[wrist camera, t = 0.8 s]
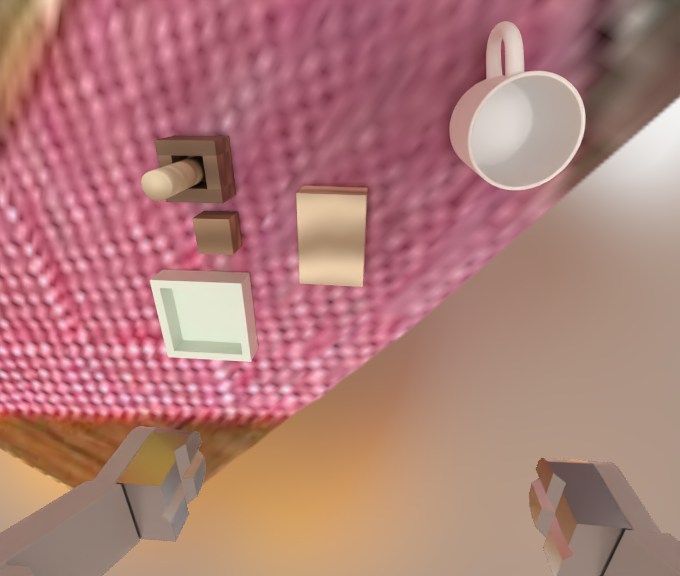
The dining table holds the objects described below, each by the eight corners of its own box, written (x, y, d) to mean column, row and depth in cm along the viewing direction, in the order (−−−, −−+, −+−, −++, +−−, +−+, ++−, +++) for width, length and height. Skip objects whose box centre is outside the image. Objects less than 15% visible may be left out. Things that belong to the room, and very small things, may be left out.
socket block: (173, 136, 42) (154, 140, 38) (228, 136, 41) (214, 140, 38) (183, 193, 44) (166, 201, 41) (235, 194, 44) (222, 203, 40)
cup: (452, 176, 41) (473, 200, 32) (437, 44, 36) (456, 28, 27) (537, 158, 39) (584, 177, 30) (534, 17, 34) (588, -10, 25)
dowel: (190, 154, 42) (138, 170, 33) (213, 154, 42) (167, 171, 33) (194, 178, 43) (145, 200, 34) (216, 178, 43) (172, 201, 34)
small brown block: (203, 210, 45) (192, 218, 42) (238, 211, 45) (228, 219, 42) (209, 244, 47) (198, 253, 44) (242, 245, 46) (233, 254, 44)
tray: (162, 269, 49) (149, 279, 46) (249, 272, 48) (241, 283, 45) (179, 343, 54) (168, 356, 51) (258, 347, 53) (251, 361, 50)
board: (303, 184, 43) (296, 193, 39) (367, 186, 42) (366, 195, 39) (305, 269, 47) (299, 283, 44) (364, 271, 47) (362, 286, 43)
